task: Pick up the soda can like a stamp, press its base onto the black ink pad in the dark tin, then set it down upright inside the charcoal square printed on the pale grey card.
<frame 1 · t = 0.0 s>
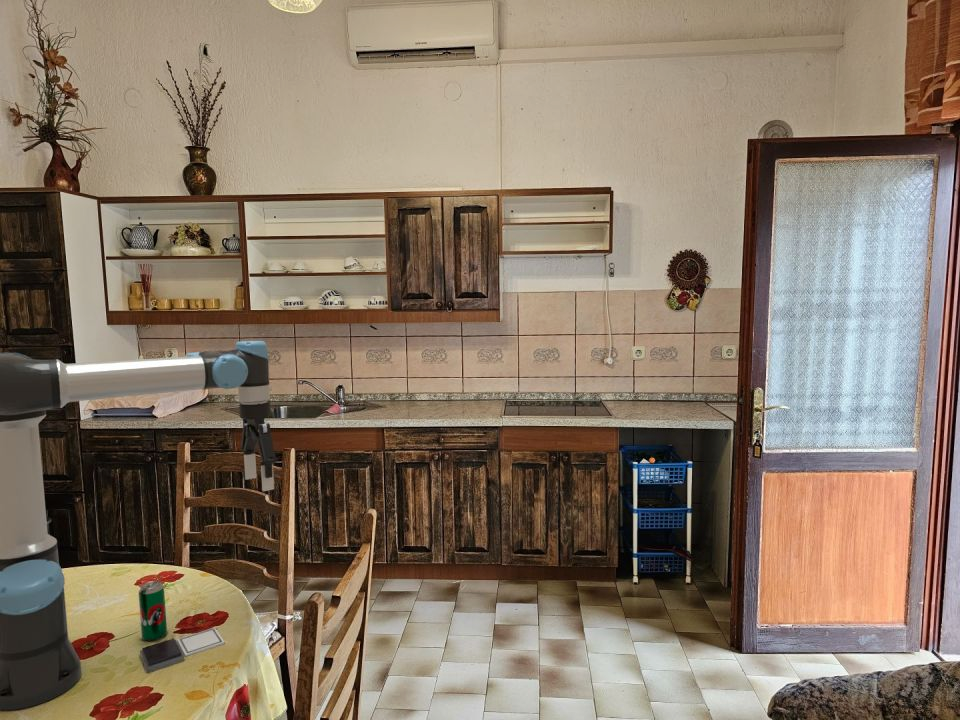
hand: (259, 484, 161), 28 cm above the table, fingers open, 13 cm apart
soda can: (154, 637, 141), on the table
ink pad: (162, 658, 132), on the table
print card: (200, 642, 138), on the table
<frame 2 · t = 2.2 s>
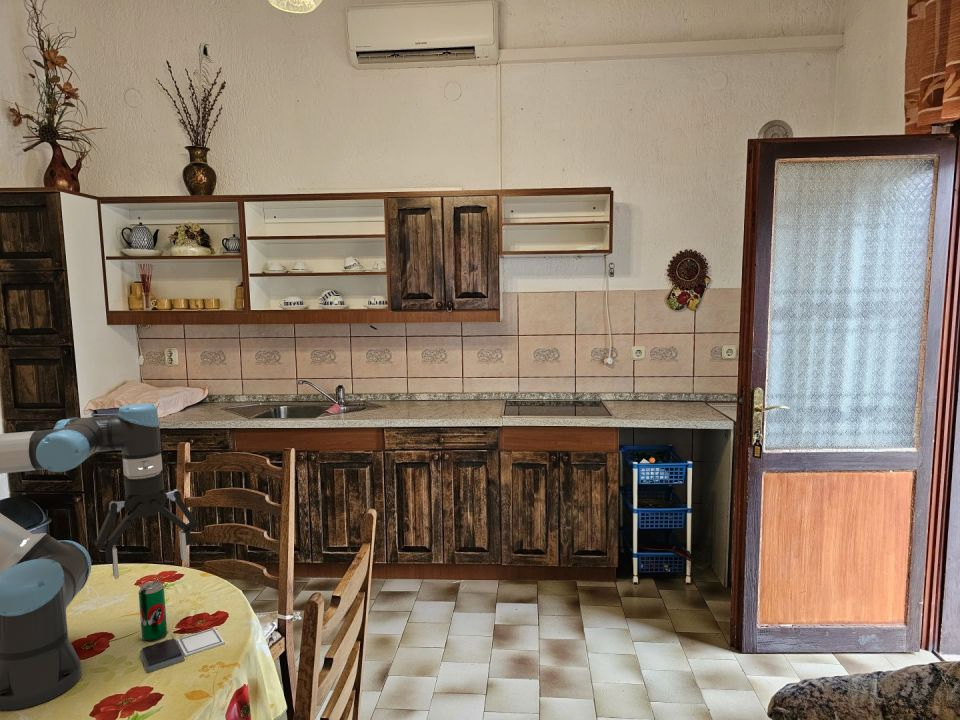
hand: (151, 568, 140), 16 cm above the table, fingers open, 13 cm apart
nothing on the table moved.
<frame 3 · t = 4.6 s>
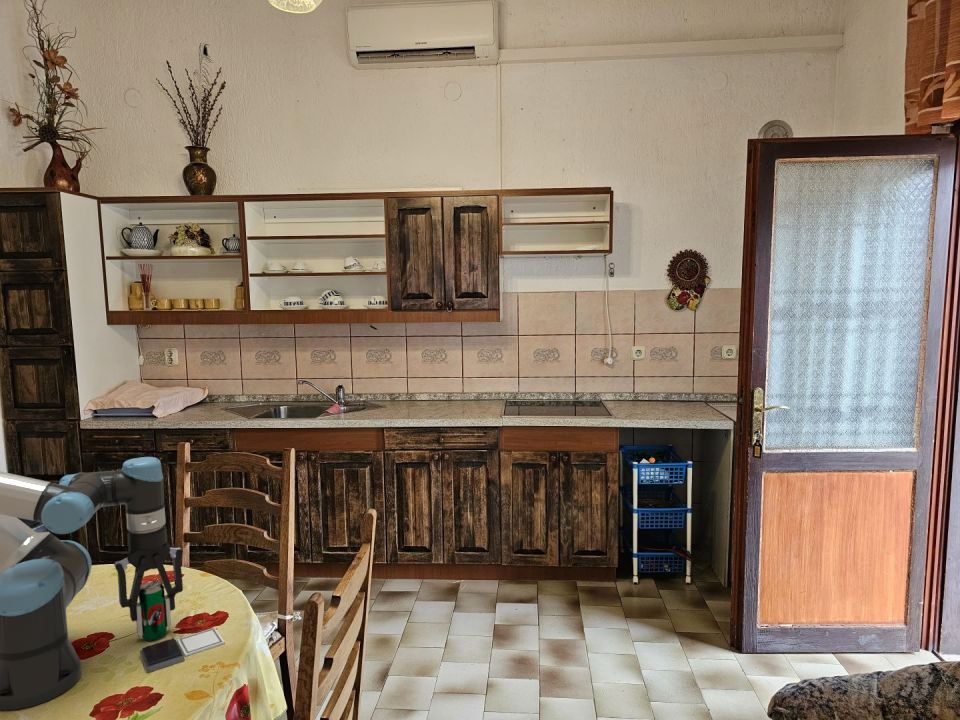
hand: (154, 628, 141), 2 cm above the table, fingers closed on soda can, 5 cm apart
soda can: (154, 637, 141), on the table, touching gripper
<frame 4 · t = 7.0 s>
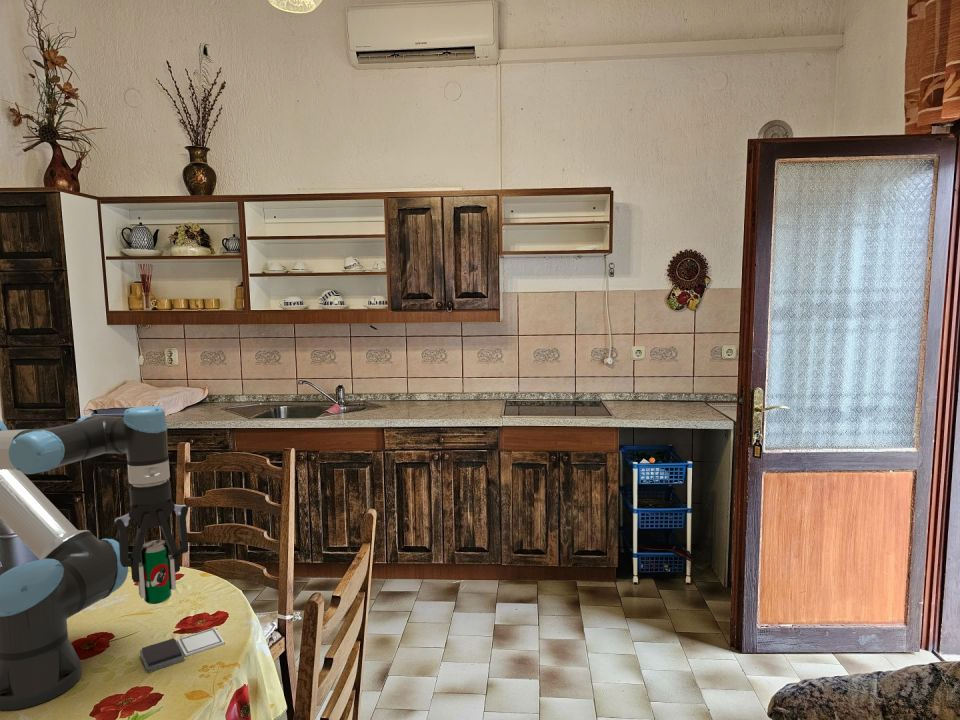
hand: (157, 591, 131), 15 cm above the table, fingers closed on soda can, 5 cm apart
soda can: (158, 600, 131), point 13 cm above the table, touching gripper
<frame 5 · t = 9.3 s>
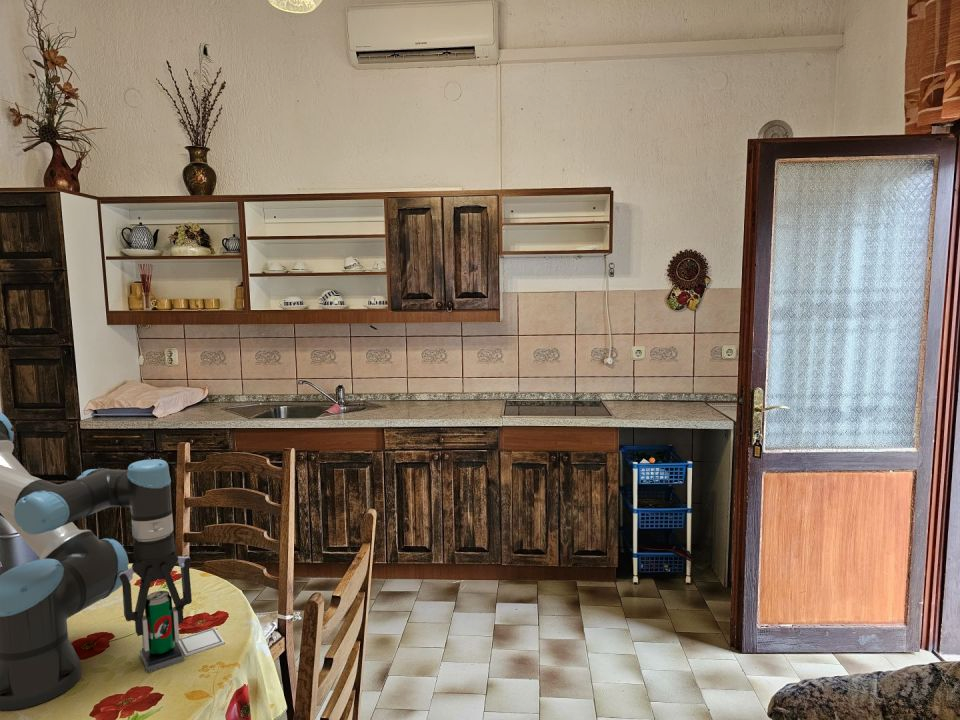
hand: (161, 643, 132), 3 cm above the table, fingers closed on soda can, 5 cm apart
soda can: (161, 651, 132), point 2 cm above the table, touching gripper, ink pad
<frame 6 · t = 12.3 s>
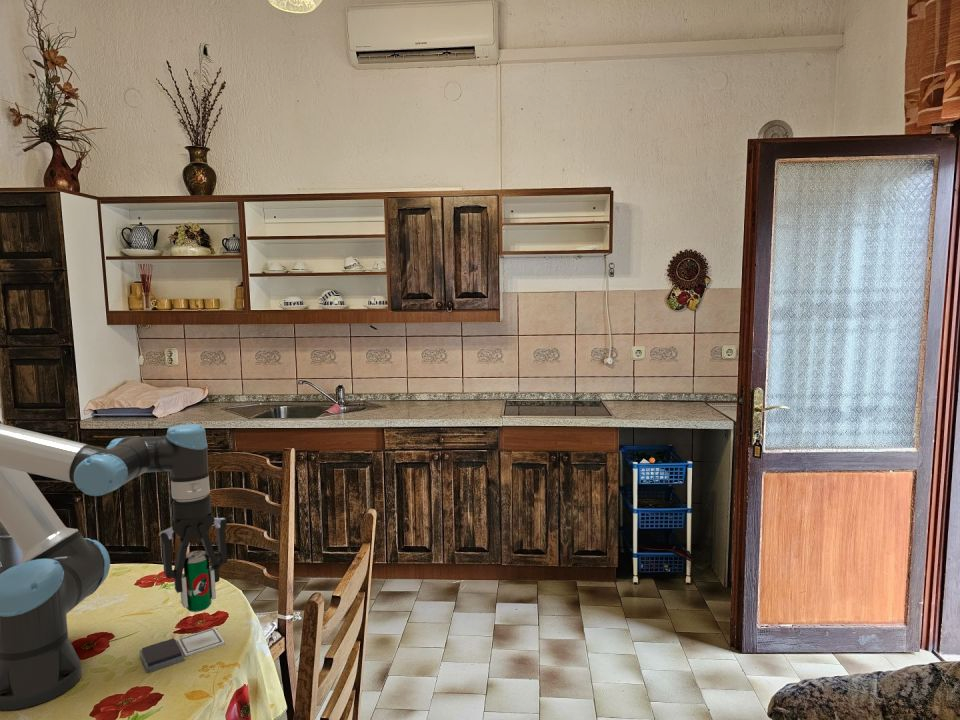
hand: (198, 600, 137), 9 cm above the table, fingers closed on soda can, 5 cm apart
soda can: (199, 608, 137), point 8 cm above the table, touching gripper
when the fingers open (4 cm above the table, at t = 14.4 s): soda can drops 2 cm, resting on print card.
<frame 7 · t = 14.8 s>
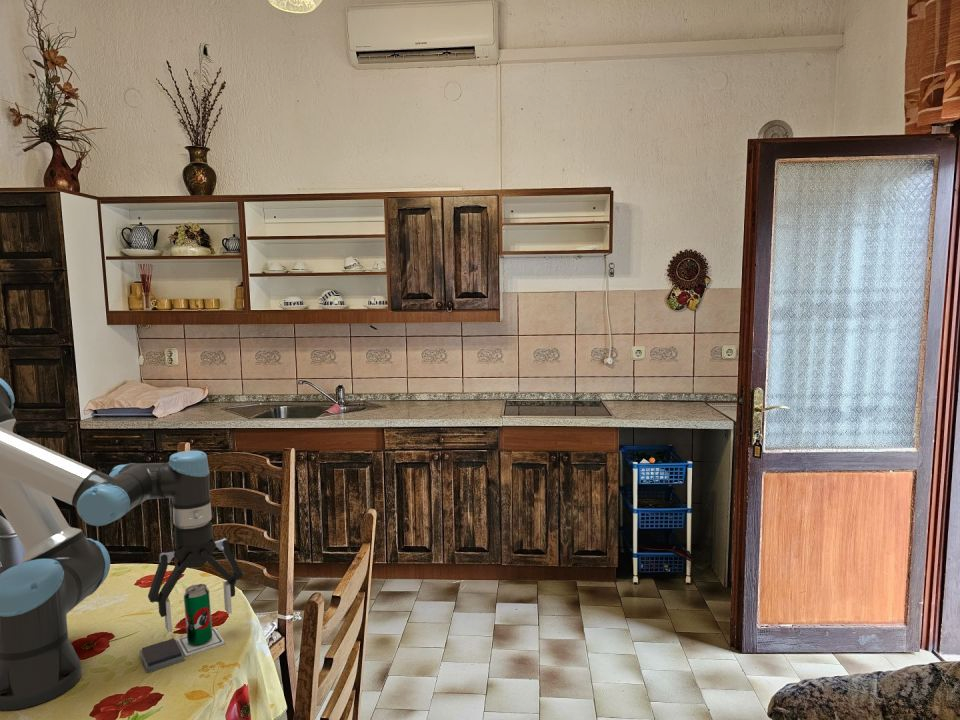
hand: (199, 620, 138), 5 cm above the table, fingers open, 11 cm apart
soda can: (200, 641, 138), resting on print card
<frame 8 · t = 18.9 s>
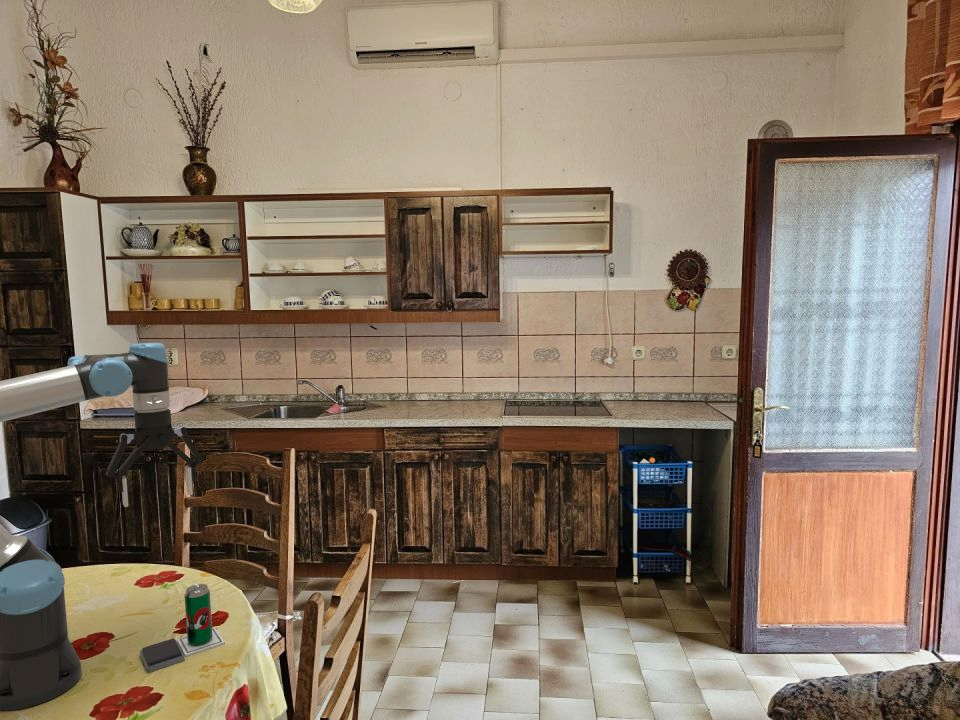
hand: (158, 499, 147), 29 cm above the table, fingers open, 13 cm apart
nothing on the table moved.
at the end: soda can 0.1 cm off-centre on the print card, point 0.2 cm above the print card's base; soda can touching print card; soda can tilted 0° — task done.
